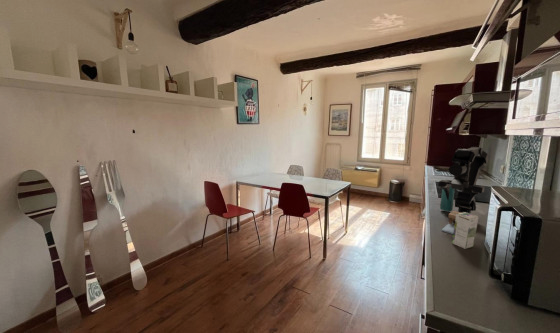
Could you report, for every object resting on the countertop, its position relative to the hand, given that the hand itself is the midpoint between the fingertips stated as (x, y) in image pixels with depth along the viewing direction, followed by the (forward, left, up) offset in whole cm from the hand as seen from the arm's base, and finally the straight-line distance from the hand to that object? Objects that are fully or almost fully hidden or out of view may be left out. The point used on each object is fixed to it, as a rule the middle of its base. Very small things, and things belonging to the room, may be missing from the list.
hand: (458, 201), depth 123 cm
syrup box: (+25, +9, -13) cm, 29 cm away
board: (+10, +2, -13) cm, 16 cm away
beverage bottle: (-18, -9, -13) cm, 24 cm away
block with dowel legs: (0, 0, -13) cm, 13 cm away
